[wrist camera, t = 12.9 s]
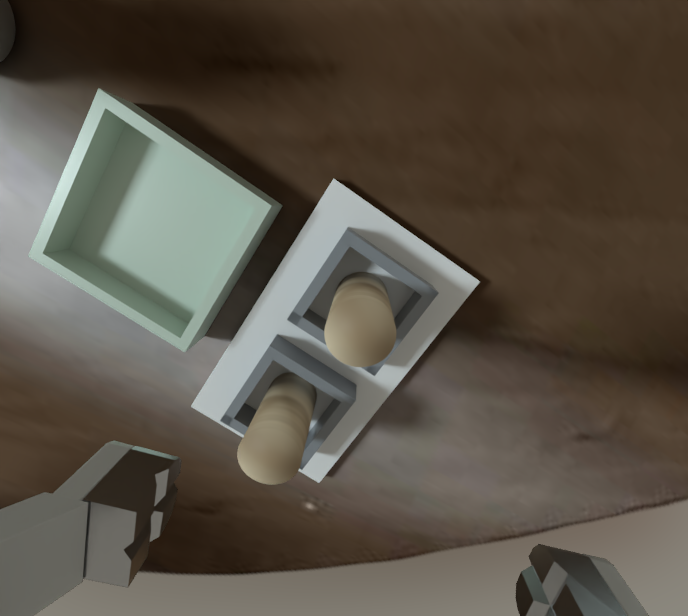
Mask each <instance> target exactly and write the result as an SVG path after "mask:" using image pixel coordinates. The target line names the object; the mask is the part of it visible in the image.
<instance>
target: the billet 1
mask: <svg viewBox="0 0 688 616" xmlns="http://www.w3.org/2000/svg"><path fill="white" fill-rule="evenodd" d="M316 398H317V393H316V389H315V387H314V385H312V384H311V383H309V382H308V381H306V380H305V379H303V378H301V377H300V376H298V375H297V374H295V373H292V372H290V373H284V374H281V375H279V376H278V377H276V378H275V379H274V380H273V381H272V383H271V385H270V386H269V388H268V390H267V392H266V394H265V396H264V398H263V400H262V402H261V404H260V406H259V408H258V410H257V412H256V414H255V416H254V417H253V419H252V421H251V423H250V425H249V427H248V429H247V431H246V433H245V435H244V437H243V439H242V441H241V443H240V445H239V447H238V453H237V456H238V462H239V464H240V466H241V468H242V470H243V471H244V472H245V473H246V474H247V475H248V476H249V477H250V478H252V479H253V480H255V481H257V482H260V483H264V484H272V485H273V484H281V483H284V482H286V481H288V480H290V479H291V478H293V477H294V476H295V475H296V473H297V472H298V470H299V468H300V465H301V461H302V457H303V453H304V448H305V444H306V440H307V436H308V432H309V428H310V424H311V420H312V415H313V411H314V407H315V403H316Z"/></svg>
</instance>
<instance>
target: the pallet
mask: <svg viewBox="0 0 688 616" xmlns="http://www.w3.org/2000/svg"><path fill="white" fill-rule="evenodd" d="M355 272H368V273H371V274H373V275H375V276H377V277H378V278H379V279H380V280H381V281H382V282H383V283H384V285H385V287H386V289H387V293H388V297H389V301H390V305H391V309H392V313H393V318H394V322H395V326H396V341H395V344H394V347H393V349H392V351H391V352H390V353H389V355H388V356H387V357H386V358H385V359H383V360H382V361H381V362H379V363H377V364H375V365H372V366H368V367H354V366H350V365H347V364H344V363H342V362H341V361H339V360H338V359H336V358H335V357H334V356H333V355H332V353H331V352H330V351H329V349H328V347H327V345H326V341H325V336H324V330H325V325H326V321H327V318H328V315H329V312H330V308H331V305H332V302H333V299H334V295H335V292H336V289H337V287H338V285H339V283H340V282H341V281H342V279H344V278H345V277H346V276H348V275H350V274H352V273H355ZM479 282H480V281H479V280H477V279H476V278H474V277H473V276H472V275H470V274H469V273H467V272H466V271H464V270H463V269H462V268H460V267H459V266H457V265H456V264H455V263H453V262H452V261H450V260H449V259H447V258H446V257H445V256H443V255H442V254H440V253H439V252H437V251H436V250H435V249H433V248H432V247H430V246H429V245H428V244H426V243H425V242H423V241H422V240H420V239H419V238H418V237H416V236H415V235H413V234H412V233H411V232H409V231H408V230H406V229H405V228H403V227H402V226H401V225H399V224H398V223H396V222H395V221H394V220H392V219H391V218H389V217H388V216H386V215H385V214H384V213H382V212H381V211H379V210H378V209H376V208H375V207H374V206H372V205H371V204H369V203H368V202H367V201H365V200H364V199H362V198H361V197H359V196H358V195H357V194H355V193H354V192H352V191H351V190H350V189H348V188H347V187H345V186H344V185H342V184H341V183H340V182H338V181H337V180H335V179H333V180H332V182H331V184H330V185H329V187H328V188H327V190H326V192H325V193H324V195H323V196H322V198H321V200H320V201H319V203H318V204H317V206H316V208H315V209H314V211H313V212H312V214H311V216H310V217H309V219H308V220H307V222H306V223H305V225H304V227H303V228H302V230H301V231H300V233H299V235H298V236H297V238H296V239H295V241H294V243H293V244H292V246H291V247H290V249H289V251H288V252H287V254H286V255H285V257H284V259H283V260H282V262H281V263H280V265H279V267H278V268H277V270H276V271H275V273H274V275H273V276H272V278H271V279H270V281H269V283H268V284H267V286H266V287H265V289H264V290H263V292H262V294H261V295H260V297H259V298H258V300H257V302H256V303H255V305H254V306H253V308H252V310H251V311H250V313H249V314H248V316H247V318H246V319H245V321H244V322H243V324H242V326H241V327H240V329H239V330H238V332H237V334H236V335H235V337H234V338H233V340H232V342H231V343H230V345H229V346H228V348H227V350H226V351H225V353H224V354H223V356H222V357H221V359H220V361H219V362H218V364H217V365H216V367H215V369H214V370H213V372H212V373H211V375H210V377H209V378H208V380H207V381H206V383H205V385H204V386H203V388H202V389H201V391H200V393H199V394H198V396H197V397H196V399H195V401H194V402H193V404H192V405H191V407H192V408H194V409H196V410H197V411H199V412H201V413H203V414H204V415H206V416H208V417H209V418H211V419H213V420H214V421H216V422H218V423H219V424H221V425H223V426H224V427H226V428H228V429H229V430H231V431H233V432H234V433H236V434H238V435H239V436H241V437H244V435H245V433H246V431H247V429H248V427H249V425H250V423H251V421H252V419H253V417H254V416H255V414H256V412H257V410H258V408H259V406H260V404H261V402H262V400H263V398H264V396H265V394H266V392H267V390H268V388H269V386H270V385H271V383H272V381H273V380H274V379H275V378H276V377H278V376H279V375H281V374H284V373H290V372H292V373H295V374H297V375H298V376H300V377H301V378H303V379H305V380H306V381H308V382H309V383H311V384H312V385H314V387H315V389H316V393H317V398H316V403H315V407H314V411H313V415H312V420H311V424H310V428H309V432H308V436H307V440H306V444H305V448H304V453H303V457H302V461H301V465H300V468H299V470H298V471H300V472H301V473H303V474H305V475H307V476H308V477H310V478H312V479H313V480H315V481H317V482H318V483H320V481H321V480H322V479H323V478H324V476H325V475H326V474H327V473H328V471H329V470H330V469H331V468H332V466H333V465H334V464H335V463H336V461H337V460H338V459H339V458H340V456H341V455H342V454H343V453H344V451H345V450H346V449H347V448H348V446H349V445H350V444H351V443H352V441H353V440H354V439H355V438H356V436H357V435H358V434H359V433H360V431H361V430H362V429H363V428H364V426H365V425H366V424H367V423H368V421H369V420H370V419H371V418H372V416H373V415H374V414H375V413H376V411H377V410H378V409H379V408H380V406H381V405H382V404H383V403H384V401H385V400H386V399H387V398H388V396H389V395H390V394H391V393H392V391H393V390H394V389H395V388H396V386H397V385H398V384H399V383H400V381H401V380H402V379H403V378H404V376H405V375H406V374H407V373H408V371H409V370H410V369H411V368H412V366H413V365H414V364H415V363H416V361H417V360H418V359H419V358H420V356H421V355H422V354H423V353H424V351H425V350H426V349H427V348H428V346H429V345H430V344H431V343H432V341H433V340H434V339H435V338H436V336H437V335H438V334H439V333H440V331H441V330H442V329H443V328H444V326H445V325H446V324H447V322H448V321H449V320H450V319H451V317H452V316H453V315H454V314H455V312H456V311H457V310H458V309H459V307H460V306H461V305H462V304H463V302H464V301H465V300H466V299H467V297H468V296H469V295H470V294H471V292H472V291H473V290H474V289H475V287H476V286H477V285H478V284H479Z"/></svg>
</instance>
